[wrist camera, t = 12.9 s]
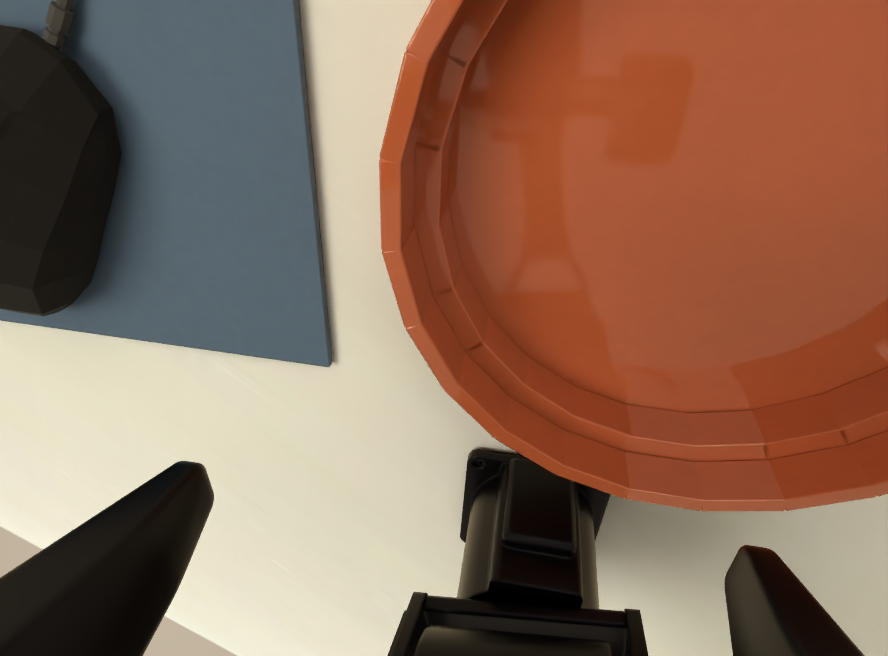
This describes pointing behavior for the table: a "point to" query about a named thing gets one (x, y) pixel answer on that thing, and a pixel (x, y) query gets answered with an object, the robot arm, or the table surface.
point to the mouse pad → (201, 177)
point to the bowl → (653, 239)
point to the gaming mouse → (51, 168)
